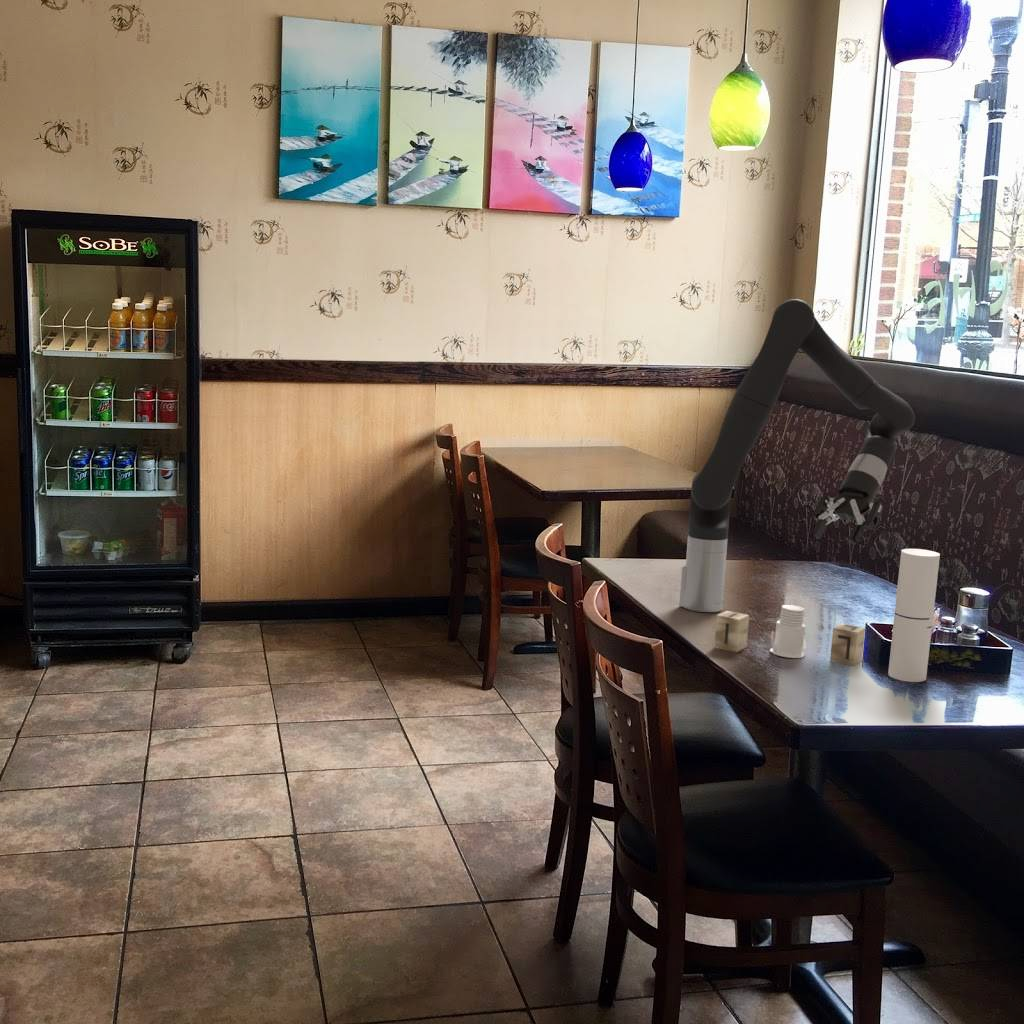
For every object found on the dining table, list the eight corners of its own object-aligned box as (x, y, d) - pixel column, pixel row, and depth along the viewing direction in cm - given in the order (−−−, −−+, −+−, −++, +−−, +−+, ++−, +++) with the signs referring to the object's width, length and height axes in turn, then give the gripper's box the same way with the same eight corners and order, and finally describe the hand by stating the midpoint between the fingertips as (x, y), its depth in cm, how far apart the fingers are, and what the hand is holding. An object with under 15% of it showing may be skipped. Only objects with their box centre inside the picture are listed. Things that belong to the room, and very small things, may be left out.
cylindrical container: (880, 672, 236) (893, 549, 232) (909, 669, 239) (923, 548, 235) (904, 683, 230) (917, 556, 226) (933, 680, 232) (948, 555, 228)
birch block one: (714, 647, 248) (716, 614, 247) (724, 642, 252) (727, 610, 251) (736, 652, 245) (739, 619, 244) (746, 647, 250) (749, 614, 248)
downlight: (778, 659, 242) (784, 611, 240) (761, 649, 248) (767, 603, 247) (812, 659, 244) (819, 612, 242) (795, 649, 251) (801, 603, 249)
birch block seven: (829, 661, 243) (833, 627, 241) (838, 655, 247) (841, 622, 245) (853, 666, 240) (857, 632, 239) (862, 660, 244) (865, 627, 243)
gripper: (828, 466, 262) (798, 525, 256) (887, 472, 251) (857, 533, 246) (841, 486, 266) (811, 545, 260) (899, 493, 256) (870, 554, 250)
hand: (834, 539), depth 253 cm, fingers open, 8 cm apart
